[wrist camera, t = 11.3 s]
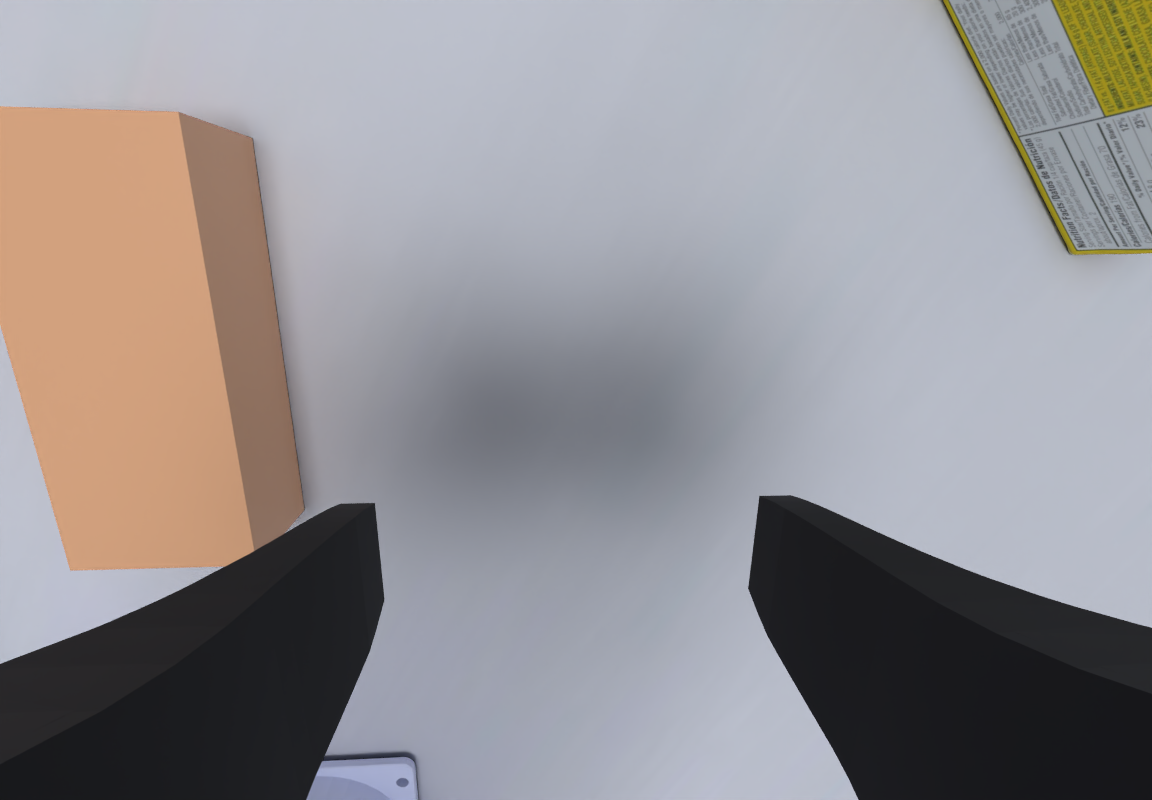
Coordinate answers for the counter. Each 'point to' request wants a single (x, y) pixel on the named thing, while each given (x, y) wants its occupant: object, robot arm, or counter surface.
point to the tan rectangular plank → (145, 335)
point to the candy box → (1074, 108)
